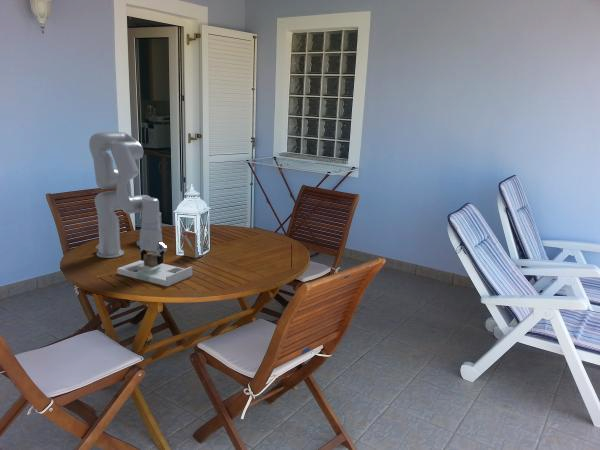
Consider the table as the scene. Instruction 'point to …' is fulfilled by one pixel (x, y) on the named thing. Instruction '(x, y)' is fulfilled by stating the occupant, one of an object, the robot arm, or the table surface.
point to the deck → (155, 273)
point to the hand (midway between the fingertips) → (152, 262)
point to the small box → (191, 244)
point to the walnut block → (150, 259)
